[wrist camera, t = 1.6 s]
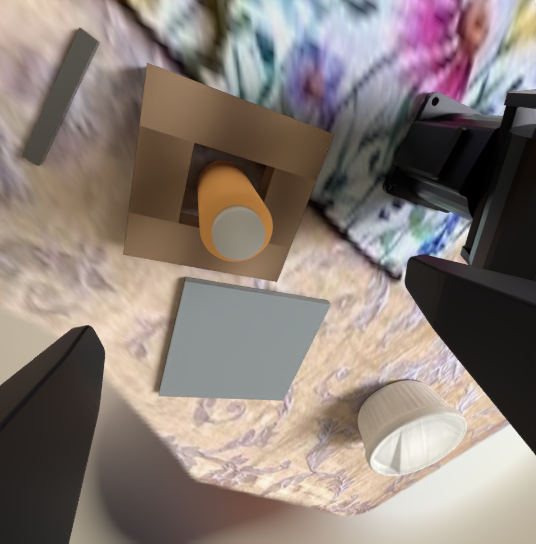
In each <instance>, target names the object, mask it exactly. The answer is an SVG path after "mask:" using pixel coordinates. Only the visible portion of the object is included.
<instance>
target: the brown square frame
mask: <svg viewBox="0 0 536 544" xmlns="http://www.w3.org/2000/svg"><path fill="white" fill-rule="evenodd" d="M333 136H334V134H332V133H330V132H327V131H324V130H322V129H319V128H317V127H314V126H311V125H309V124H306V123H303V122H301V121H298V120H296V119H293V118H290V117H288V116H285V115H283V114H280V113H277V112H275V111H272V110H269V109H267V108H264V107H262V106H259V105H256V104H254V103H251V102H248V101H246V100H243V99H241V98H238V97H235V96H233V95H230V94H228V93H225V92H222V91H220V90H217V89H214V88H212V87H209V86H207V85H204V84H201V83H199V82H196V81H193V80H191V79H188V78H186V77H183V76H180V75H178V74H175V73H172V72H170V71H167V70H165V69H162V68H159V67H157V66H154V65H152V64H149V63H147V69H146V77H145V85H144V93H143V101H142V109H141V117H140V125H139V133H138V141H137V149H136V157H135V165H134V173H133V181H132V189H131V197H130V205H129V213H128V221H127V229H126V237H125V245H124V253H123V255H129V256H134V257H140V258H145V259H151V260H157V261H162V262H168V263H174V264H179V265H185V266H191V267H196V268H202V269H207V270H213V271H219V272H224V273H230V274H236V275H241V276H247V277H253V278H258V279H264V280H269V281H275V282H277V280H278V278H279V275H280V273H281V270H282V268H283V265H284V262H285V260H286V257H287V255H288V252H289V250H290V247H291V244H292V242H293V239H294V237H295V234H296V231H297V229H298V226H299V224H300V221H301V219H302V216H303V213H304V211H305V208H306V206H307V203H308V201H309V198H310V195H311V193H312V190H313V188H314V185H315V182H316V180H317V177H318V175H319V172H320V170H321V167H322V164H323V162H324V159H325V157H326V154H327V151H328V149H329V146H330V144H331V141H332V139H333ZM194 143H197V144H201V145H204V146H207V147H210V148H213V149H216V150H220V151H223V152H226V153H229V154H232V155H236V156H239V157H242V158H245V159H248V160H251V161H255V162H258V163H261V164H264V165H267V166H266V169H265V172H264V175H263V179H262V182H261V185H260V188H259V191H258V195H259V196H260V198H261V199H262V201H263V202H264V204H265V206H266V207H267V209H268V210H269V212H270V214H271V217H272V222H273V230H272V235H271V238H270V241H269V243H268V244H267V246H266V247H265V248H264V249H263V250H262V251H261V252H260V253H259V254H258V255H256V256H255V257H253V258H251V259H248V260H245V261H239V262H231V261H225V260H222V259H220V258H218V257H216V256H214V255H213V254H212V253H210V252H209V251H208V249H207V248H206V247H205V245H204V244H203V242H202V239H201V236H200V226H199V217H198V216H194V215H190V214H185V213H181V207H182V202H183V197H184V192H185V187H186V182H187V177H188V172H189V167H190V162H191V157H192V153H193V148H194Z"/></svg>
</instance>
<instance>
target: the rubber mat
mask: <svg viewBox="0 0 536 544" xmlns="http://www.w3.org/2000/svg"><path fill="white" fill-rule="evenodd" d="M330 305H331V304H330V303H329V301H328V300H322V299H316V298H310V297H304V296H298V295H291V294H285V293H279V292H273V291H267V290H261V289H255V288H249V287H243V286H237V285H231V284H225V283H219V282H213V281H207V280H201V279H195V278H189V277H185V282H184V286H183V290H182V295H181V299H180V303H179V308H178V312H177V316H176V320H175V325H174V329H173V333H172V338H171V342H170V346H169V350H168V355H167V359H166V363H165V368H164V372H163V376H162V381H161V385H160V389H159V396H169V397H198V398H227V399H255V400H284V398H285V396H286V394H287V392H288V390H289V388H290V386H291V384H292V382H293V380H294V378H295V376H296V374H297V372H298V370H299V368H300V366H301V364H302V362H303V360H304V358H305V356H306V354H307V352H308V350H309V348H310V345H311V343H312V341H313V339H314V337H315V335H316V333H317V331H318V329H319V327H320V325H321V323H322V321H323V319H324V317H325V315H326V313H327V311H328V309H329V307H330Z"/></svg>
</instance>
